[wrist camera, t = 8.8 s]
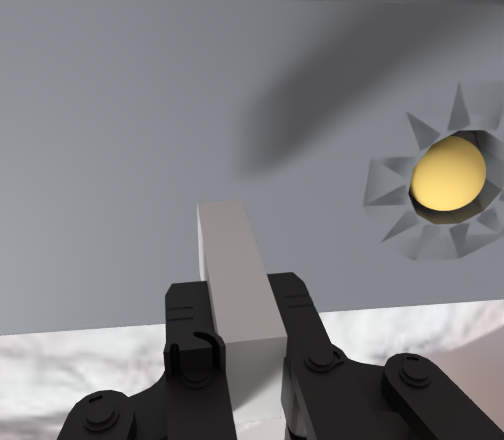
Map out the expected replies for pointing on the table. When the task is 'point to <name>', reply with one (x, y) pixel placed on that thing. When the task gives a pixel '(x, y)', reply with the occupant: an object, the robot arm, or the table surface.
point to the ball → (448, 175)
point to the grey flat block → (241, 150)
